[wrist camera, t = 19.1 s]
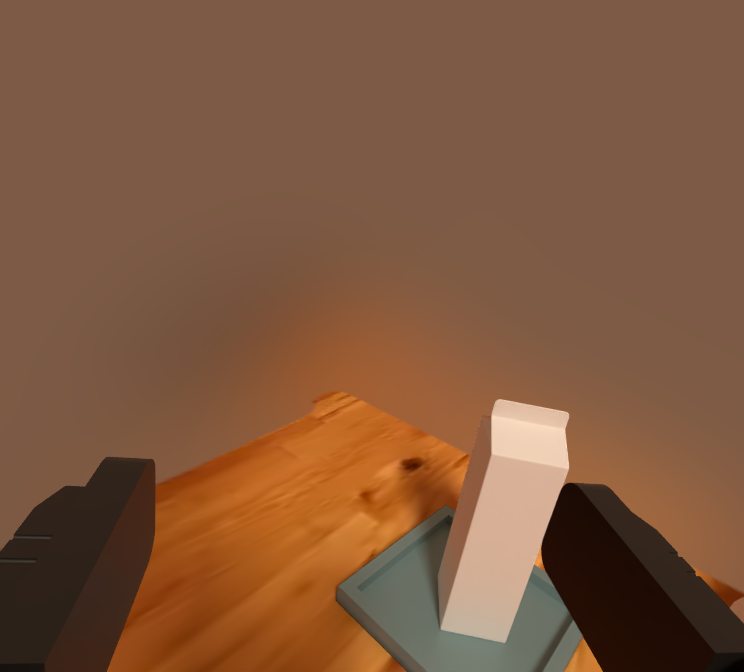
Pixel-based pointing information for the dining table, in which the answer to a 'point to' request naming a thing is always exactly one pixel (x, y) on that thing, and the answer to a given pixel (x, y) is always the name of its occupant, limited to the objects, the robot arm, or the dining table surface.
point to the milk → (501, 518)
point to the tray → (421, 612)
